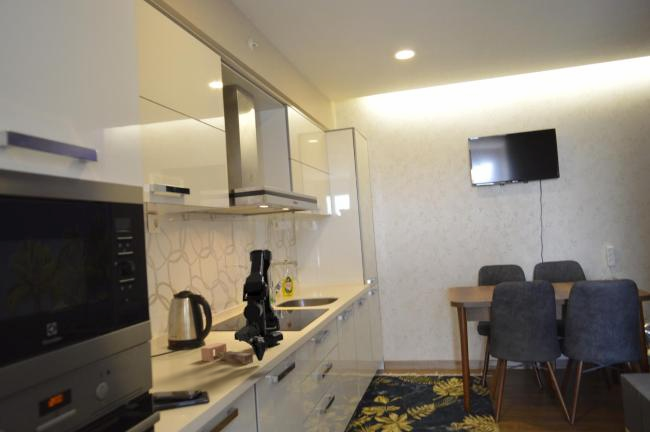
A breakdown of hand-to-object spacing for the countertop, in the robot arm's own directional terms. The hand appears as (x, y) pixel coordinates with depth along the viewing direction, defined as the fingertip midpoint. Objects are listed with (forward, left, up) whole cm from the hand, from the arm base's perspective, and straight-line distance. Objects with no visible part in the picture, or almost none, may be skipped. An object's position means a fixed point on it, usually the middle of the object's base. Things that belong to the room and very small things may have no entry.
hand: (260, 360), depth 165 cm
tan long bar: (0, -13, -2) cm, 13 cm away
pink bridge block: (0, -24, -2) cm, 24 cm away
